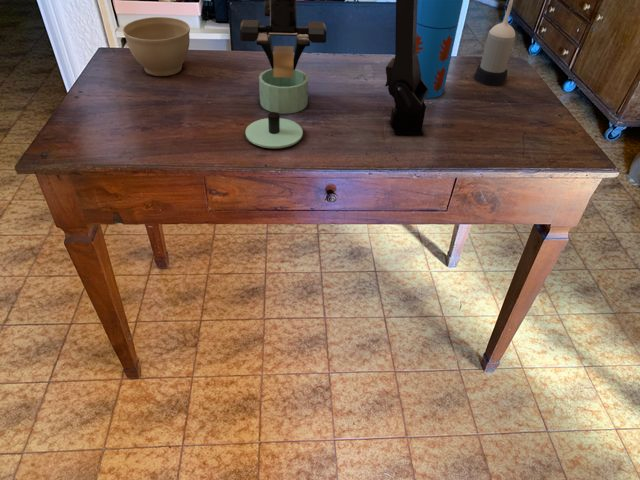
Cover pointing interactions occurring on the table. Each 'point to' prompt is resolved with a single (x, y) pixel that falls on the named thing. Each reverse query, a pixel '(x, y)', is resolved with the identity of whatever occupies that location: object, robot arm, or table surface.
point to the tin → (283, 92)
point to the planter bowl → (158, 44)
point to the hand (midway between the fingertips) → (283, 69)
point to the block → (283, 61)
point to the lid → (274, 132)
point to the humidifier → (496, 53)
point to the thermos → (436, 40)
